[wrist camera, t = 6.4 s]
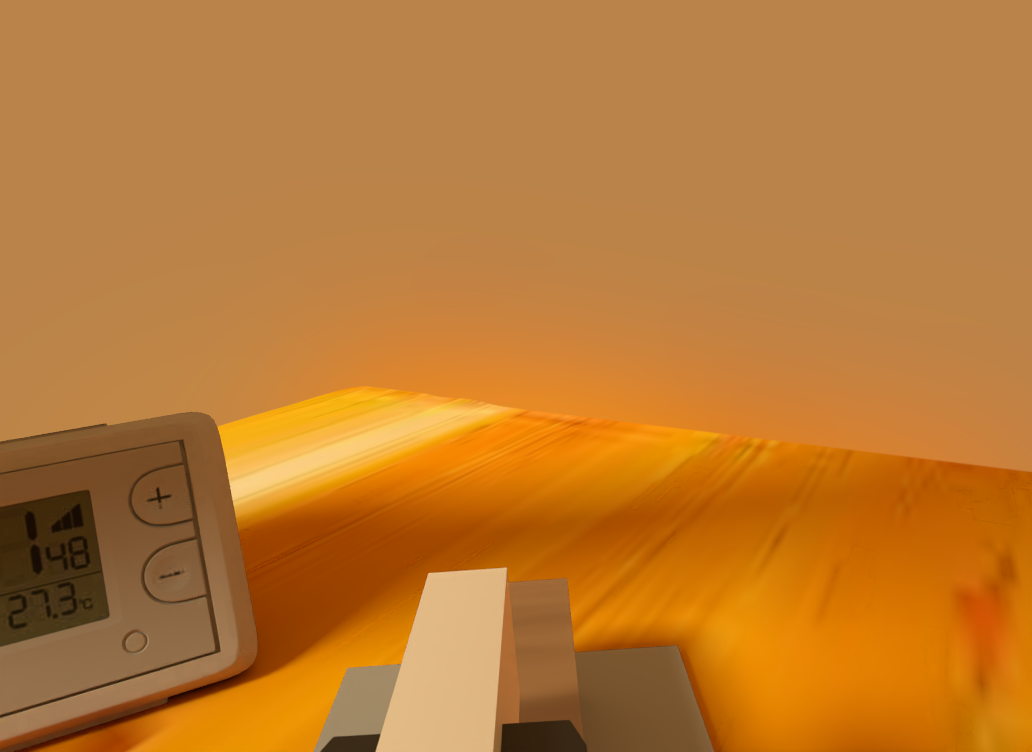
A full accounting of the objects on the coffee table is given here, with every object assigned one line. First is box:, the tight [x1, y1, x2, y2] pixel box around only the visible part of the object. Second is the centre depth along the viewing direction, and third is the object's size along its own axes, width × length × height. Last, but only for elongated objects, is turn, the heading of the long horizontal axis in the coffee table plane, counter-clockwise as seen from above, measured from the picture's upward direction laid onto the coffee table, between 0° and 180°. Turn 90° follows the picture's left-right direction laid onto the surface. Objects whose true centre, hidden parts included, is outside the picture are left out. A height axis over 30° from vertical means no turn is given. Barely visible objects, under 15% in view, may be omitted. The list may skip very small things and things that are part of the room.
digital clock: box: [0, 412, 258, 752], centre depth 27 cm, size 16×9×11 cm, turn 103°
